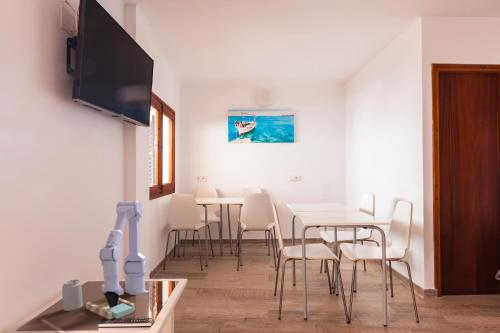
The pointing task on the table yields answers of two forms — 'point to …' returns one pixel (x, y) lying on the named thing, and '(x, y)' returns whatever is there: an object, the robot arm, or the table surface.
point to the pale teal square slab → (120, 310)
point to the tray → (105, 306)
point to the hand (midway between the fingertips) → (113, 309)
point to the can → (72, 295)
